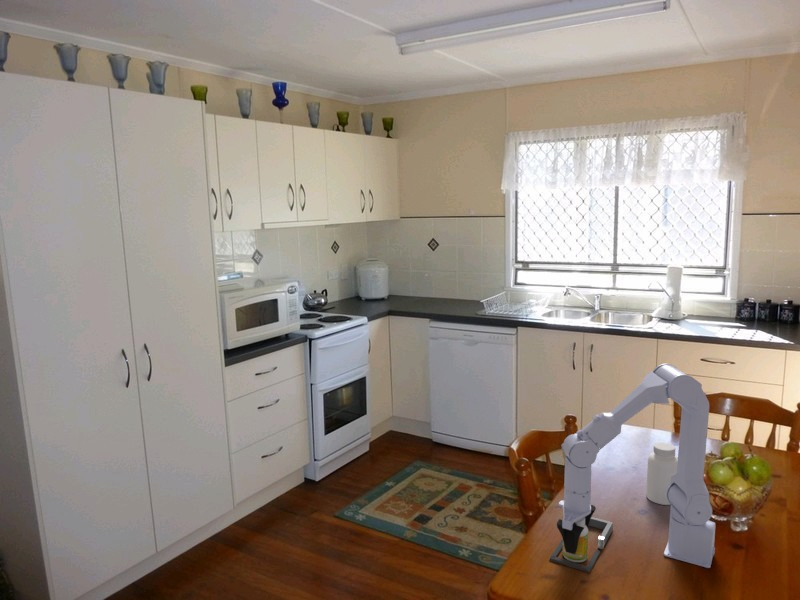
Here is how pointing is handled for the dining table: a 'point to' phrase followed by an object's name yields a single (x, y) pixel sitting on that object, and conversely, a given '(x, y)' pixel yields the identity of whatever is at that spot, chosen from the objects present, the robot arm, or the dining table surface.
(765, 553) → the dining table surface
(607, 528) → the dispenser cradle
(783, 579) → the dining table surface
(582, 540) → the supplement bottle
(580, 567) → the rubber frame
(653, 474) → the pill bottle
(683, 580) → the dining table surface
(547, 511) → the dining table surface
